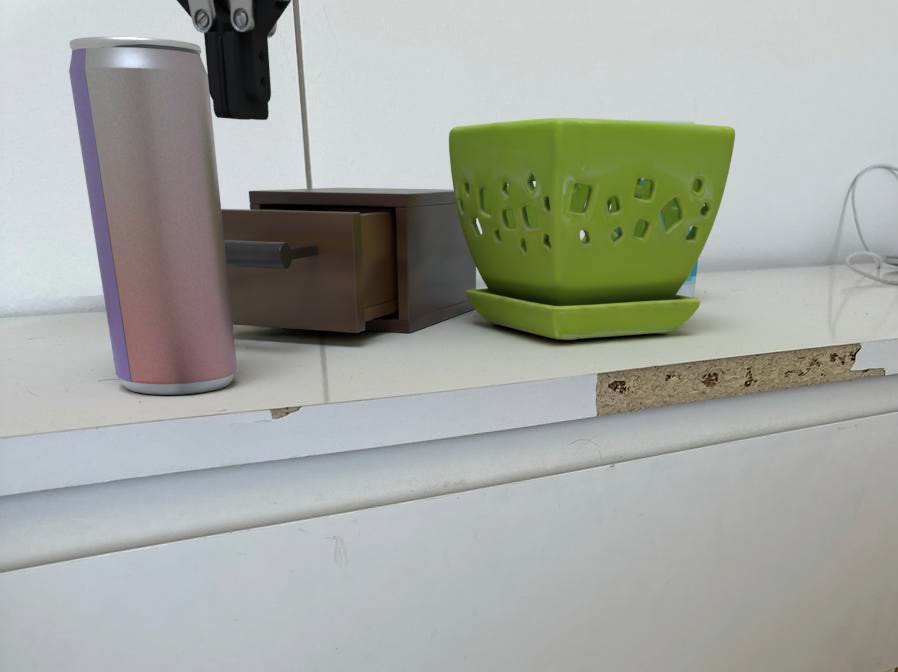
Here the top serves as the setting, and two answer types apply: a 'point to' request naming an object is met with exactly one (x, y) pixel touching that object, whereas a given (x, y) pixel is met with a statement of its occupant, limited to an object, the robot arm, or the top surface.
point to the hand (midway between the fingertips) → (242, 117)
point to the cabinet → (405, 248)
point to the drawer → (311, 266)
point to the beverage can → (155, 211)
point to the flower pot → (587, 220)
